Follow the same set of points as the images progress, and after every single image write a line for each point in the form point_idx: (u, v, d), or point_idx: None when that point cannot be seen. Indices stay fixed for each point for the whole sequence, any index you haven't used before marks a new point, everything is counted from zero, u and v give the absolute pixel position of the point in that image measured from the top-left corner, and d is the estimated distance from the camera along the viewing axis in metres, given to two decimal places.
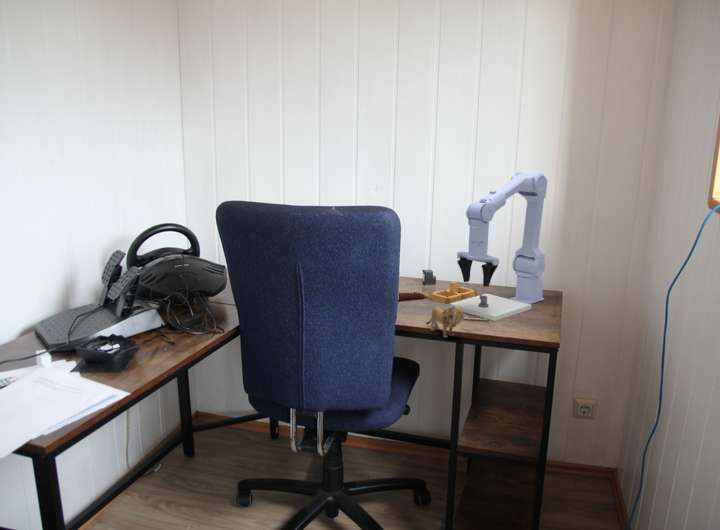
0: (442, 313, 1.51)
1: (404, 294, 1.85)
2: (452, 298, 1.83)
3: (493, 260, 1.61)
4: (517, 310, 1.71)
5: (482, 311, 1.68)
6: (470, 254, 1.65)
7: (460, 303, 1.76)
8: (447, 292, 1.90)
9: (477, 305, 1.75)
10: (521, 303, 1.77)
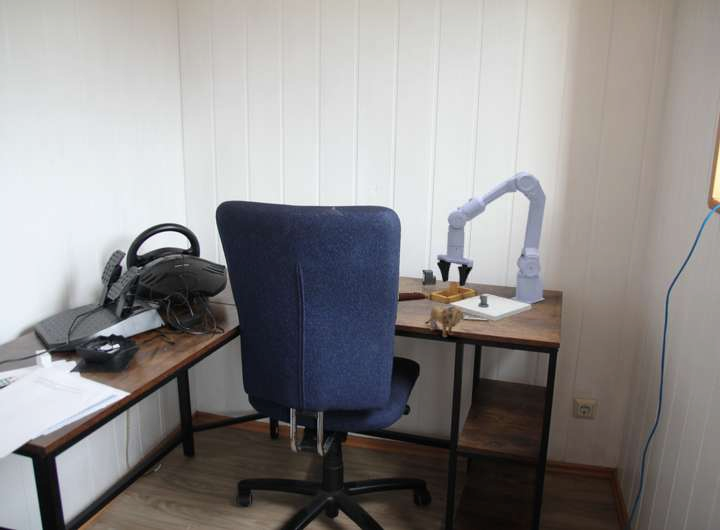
0: (441, 313, 1.51)
1: (404, 294, 1.85)
2: (452, 298, 1.83)
3: (468, 262, 1.81)
4: (517, 310, 1.71)
5: (482, 311, 1.68)
6: (448, 257, 1.85)
7: (460, 303, 1.76)
8: (447, 292, 1.90)
9: (477, 305, 1.75)
10: (521, 303, 1.77)
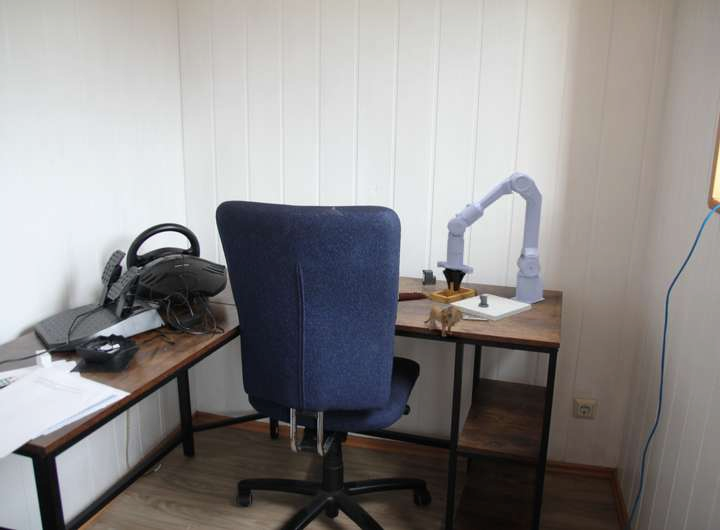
0: (441, 312, 1.51)
1: (405, 294, 1.85)
2: (452, 298, 1.83)
3: (467, 269, 1.82)
4: (517, 310, 1.71)
5: (482, 311, 1.68)
6: (448, 264, 1.86)
7: (460, 303, 1.76)
8: (447, 292, 1.90)
9: (477, 305, 1.75)
10: (521, 303, 1.77)
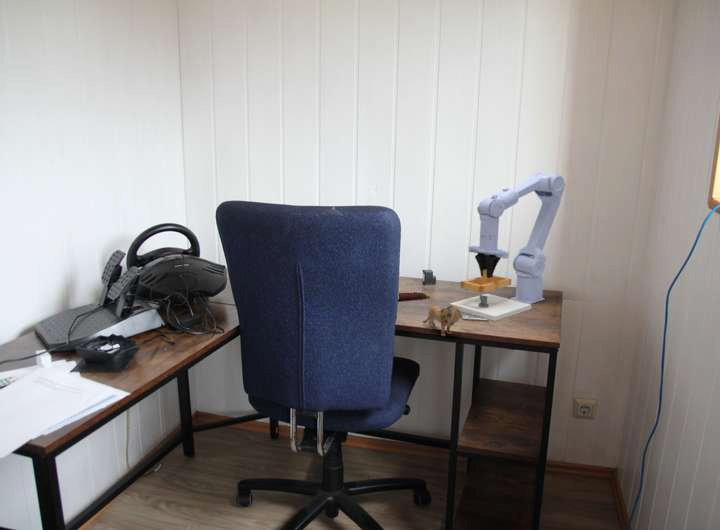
0: (440, 312, 1.52)
1: (406, 294, 1.85)
2: (485, 287, 1.70)
3: (503, 254, 1.69)
4: (517, 310, 1.71)
5: (482, 311, 1.68)
6: (481, 248, 1.73)
7: (460, 303, 1.76)
8: (479, 280, 1.78)
9: (477, 305, 1.75)
10: (521, 303, 1.77)
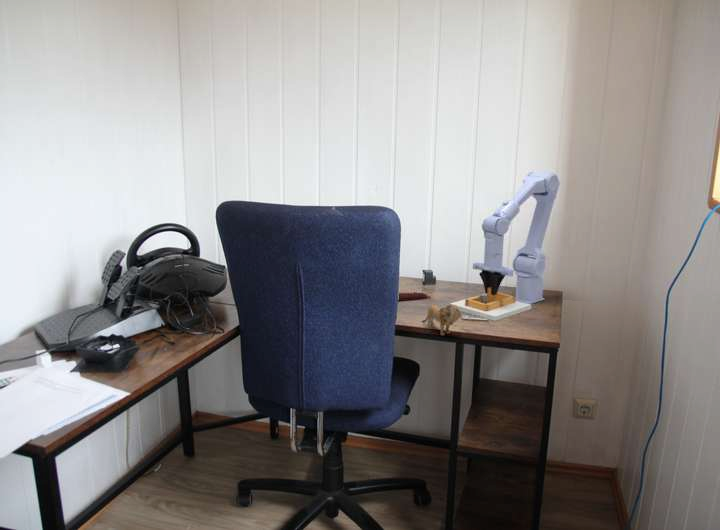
0: (439, 311, 1.52)
1: (407, 294, 1.85)
2: (490, 305, 1.69)
3: (508, 271, 1.68)
4: (517, 310, 1.71)
5: (482, 311, 1.68)
6: (485, 265, 1.73)
7: (460, 303, 1.76)
8: None
9: None
10: (521, 303, 1.77)
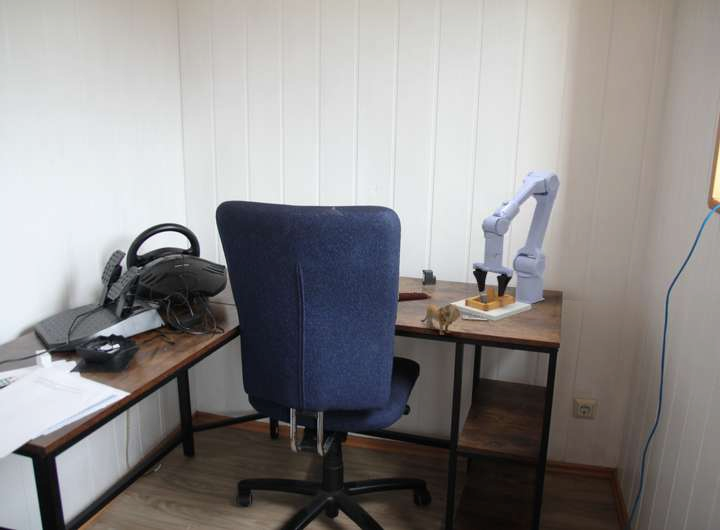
0: (438, 311, 1.53)
1: (407, 294, 1.85)
2: (490, 305, 1.69)
3: (508, 271, 1.68)
4: (517, 310, 1.71)
5: (482, 311, 1.68)
6: (485, 265, 1.73)
7: (460, 303, 1.76)
8: None
9: None
10: (521, 303, 1.77)
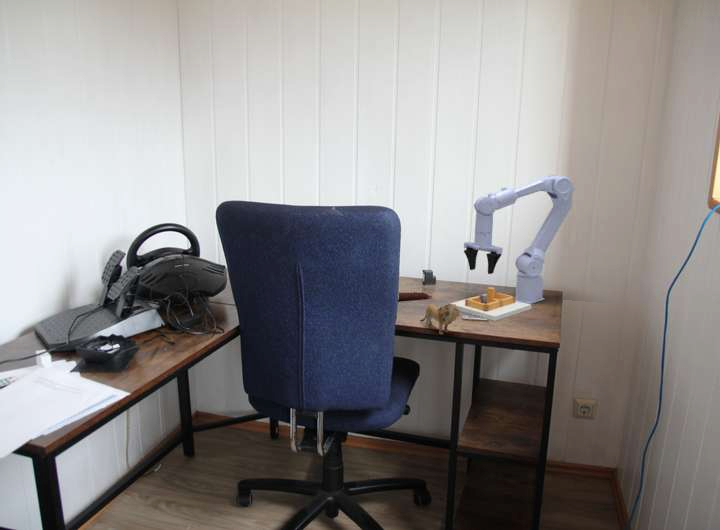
0: (437, 310, 1.53)
1: (408, 294, 1.85)
2: (490, 305, 1.69)
3: (497, 249, 1.76)
4: (517, 310, 1.71)
5: (482, 311, 1.68)
6: (476, 244, 1.80)
7: (460, 303, 1.76)
8: None
9: None
10: (521, 303, 1.77)
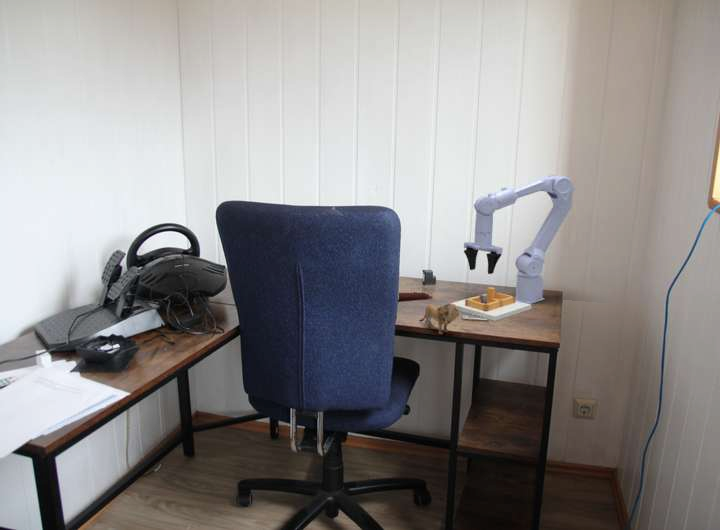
0: (437, 310, 1.53)
1: (408, 294, 1.85)
2: (490, 305, 1.69)
3: (497, 249, 1.76)
4: (517, 310, 1.71)
5: (482, 311, 1.68)
6: (476, 244, 1.80)
7: (460, 303, 1.76)
8: None
9: None
10: (521, 303, 1.77)
